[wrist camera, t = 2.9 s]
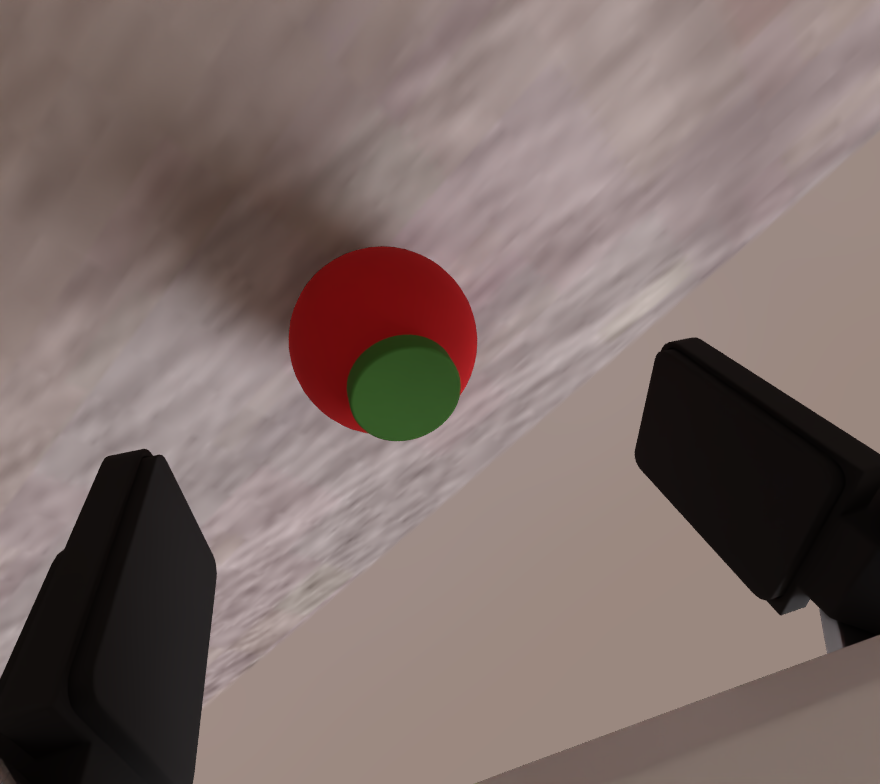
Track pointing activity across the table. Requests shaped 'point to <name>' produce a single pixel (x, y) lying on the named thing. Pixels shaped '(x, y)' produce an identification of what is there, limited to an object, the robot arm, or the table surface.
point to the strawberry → (383, 342)
